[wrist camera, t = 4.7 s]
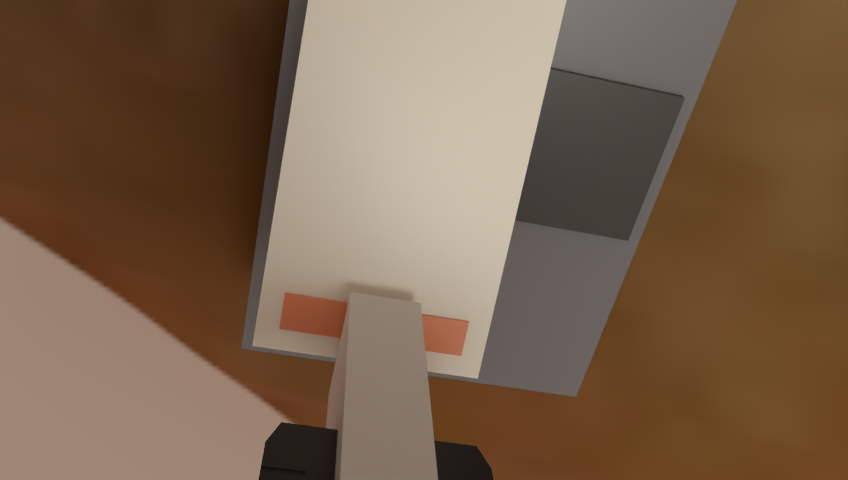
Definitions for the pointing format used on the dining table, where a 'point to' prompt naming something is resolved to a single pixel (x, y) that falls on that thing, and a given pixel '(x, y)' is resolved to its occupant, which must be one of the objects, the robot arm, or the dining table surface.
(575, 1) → the rocker switch panel
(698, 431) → the dining table surface
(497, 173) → the small box
